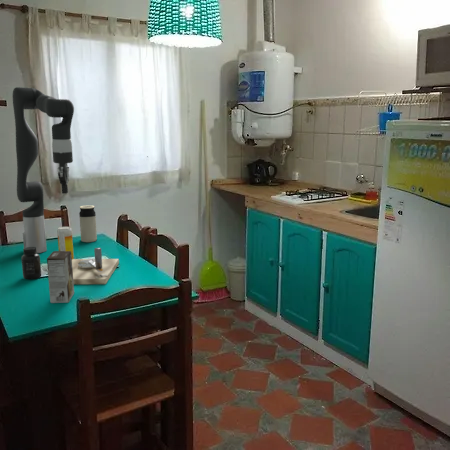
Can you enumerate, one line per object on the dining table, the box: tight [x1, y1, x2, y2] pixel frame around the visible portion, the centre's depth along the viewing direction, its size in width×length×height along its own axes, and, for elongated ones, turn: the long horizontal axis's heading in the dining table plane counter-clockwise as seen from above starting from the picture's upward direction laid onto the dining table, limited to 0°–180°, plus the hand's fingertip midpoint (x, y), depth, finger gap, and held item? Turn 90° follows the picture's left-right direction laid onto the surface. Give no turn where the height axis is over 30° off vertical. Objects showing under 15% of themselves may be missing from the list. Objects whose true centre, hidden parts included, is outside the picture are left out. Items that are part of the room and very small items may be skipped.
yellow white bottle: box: [57, 226, 75, 259], centre depth 210 cm, size 6×6×15 cm
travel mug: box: [78, 204, 98, 243], centre depth 245 cm, size 8×8×18 cm
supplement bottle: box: [20, 247, 42, 281], centre depth 188 cm, size 7×7×12 cm
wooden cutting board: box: [72, 258, 120, 285], centre depth 194 cm, size 20×27×2 cm
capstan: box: [78, 247, 103, 272], centre depth 191 cm, size 21×9×10 cm, turn 32°
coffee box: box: [46, 250, 75, 304], centre depth 166 cm, size 9×6×16 cm
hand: (65, 193), depth 194 cm, fingers closed
